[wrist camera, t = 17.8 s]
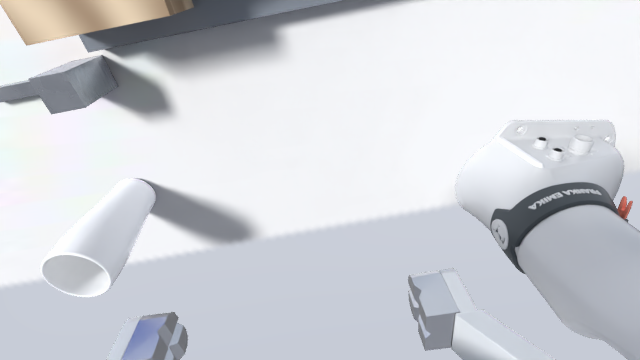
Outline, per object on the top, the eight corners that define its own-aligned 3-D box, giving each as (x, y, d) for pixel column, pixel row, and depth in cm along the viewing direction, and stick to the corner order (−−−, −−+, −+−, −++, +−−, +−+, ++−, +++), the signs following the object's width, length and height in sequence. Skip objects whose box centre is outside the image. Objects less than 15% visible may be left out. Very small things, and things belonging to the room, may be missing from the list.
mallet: (102, 55, 36) (64, 71, 30) (118, 86, 38) (85, 107, 32) (-16, 79, 36) (-76, 99, 31) (6, 108, 38) (-47, 133, 33)
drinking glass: (113, 165, 43) (38, 245, 31) (166, 180, 45) (116, 262, 32) (108, 203, 46) (38, 290, 34) (158, 216, 48) (109, 303, 36)
